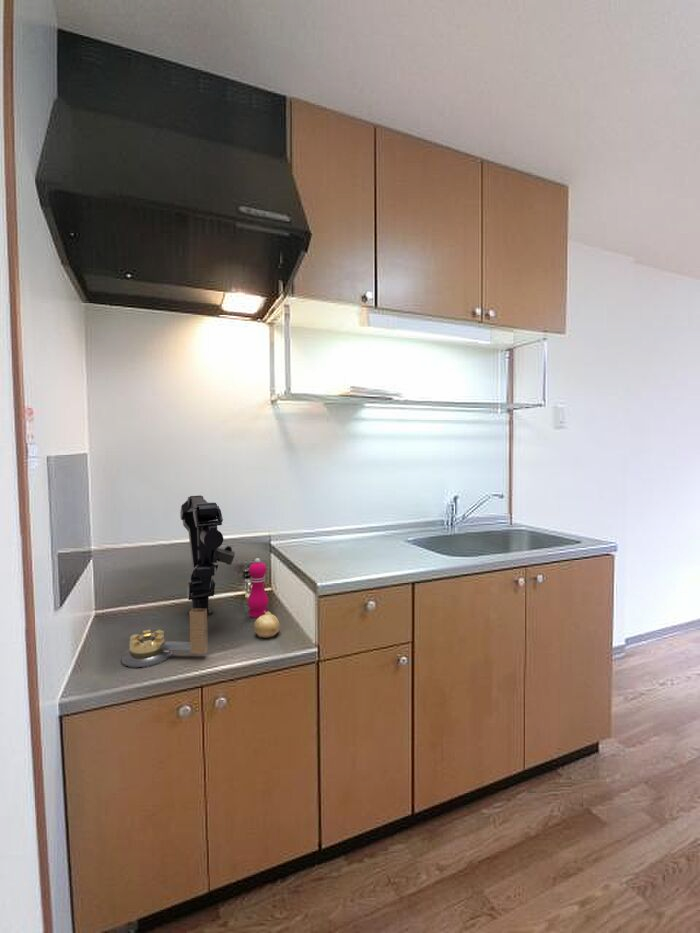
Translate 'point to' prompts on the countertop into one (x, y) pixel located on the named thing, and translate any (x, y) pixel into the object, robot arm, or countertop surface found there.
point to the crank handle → (156, 642)
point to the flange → (144, 659)
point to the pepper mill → (257, 590)
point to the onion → (266, 625)
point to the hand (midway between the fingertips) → (208, 589)
